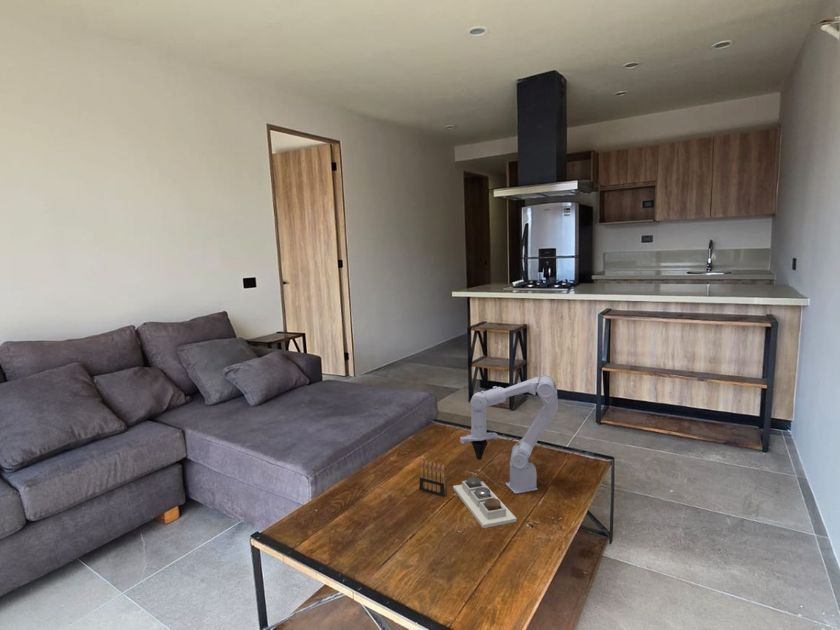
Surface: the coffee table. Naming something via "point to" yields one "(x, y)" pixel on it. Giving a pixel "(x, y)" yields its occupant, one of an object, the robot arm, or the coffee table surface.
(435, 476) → the ammunition clip
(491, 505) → the knob walnut
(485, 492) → the knob steel
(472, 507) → the mount board
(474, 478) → the knob graphite
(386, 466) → the coffee table surface
